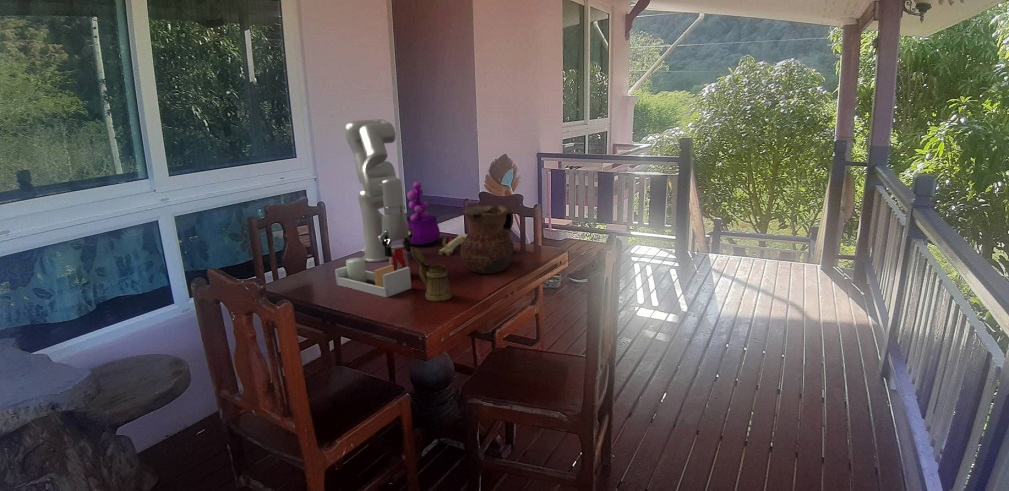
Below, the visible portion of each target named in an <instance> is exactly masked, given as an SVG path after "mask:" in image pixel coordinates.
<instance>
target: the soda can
mask: <svg viewBox="0 0 1009 491" xmlns="http://www.w3.org/2000/svg"><path fill="white" fill-rule="evenodd" d="M390 247H391V250H392V257H389V259H388V263H389V264H388V266H390V265H394V271H397V270H400V269H403V268H406V267H409V266H408V265H409V264H408V254H407V251H406V249H405V247H404V245H403V244H399V243H398V244H393V245H390Z"/></svg>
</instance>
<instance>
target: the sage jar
mask: <svg viewBox="0 0 1009 491" xmlns="http://www.w3.org/2000/svg"><path fill="white" fill-rule="evenodd" d="M345 265H346V267H347V276H348V279H350V280H355V281H359V282H363V283H367V284H368V279H367V276H366V271H367V269H366V261H365V259H364V258H363V257H353V258H352V257H351V258H348V259H346V260H345Z"/></svg>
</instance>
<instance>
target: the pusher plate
mask: <svg viewBox="0 0 1009 491" xmlns="http://www.w3.org/2000/svg"><path fill="white" fill-rule="evenodd" d="M373 272H374V275H375V281H374V284H375V286H380V287H384V286H383V275H385V274H388V273H391V272H394V265H390V266H389V265H387V266H383V267H380V268H378V269H375V270H373Z"/></svg>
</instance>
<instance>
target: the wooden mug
mask: <svg viewBox="0 0 1009 491" xmlns="http://www.w3.org/2000/svg"><path fill="white" fill-rule="evenodd" d="M410 252H411V256H412V257H413V258H414V260H415V261H416V262H417V263H418V264H420V266H419V268H418V274H419V277H420V279H421V281H422V283H423V284H424V286H425V289H426V290H425V291H426V292H425V299H426V300H427V301H429V302H445V301H448V300H450V299H451V298H453V293H452V291H451V287H450V282H449V278H448V274H449V273H448V270H447V267H446V265H445V264H434V265H432V266H431V265H430V264H429V263H427V262H426V256H425V254H423V252H422V251H421V250H420V249H418V248H417V247H415V246H411V247H410ZM425 272H426V276H425Z"/></svg>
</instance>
